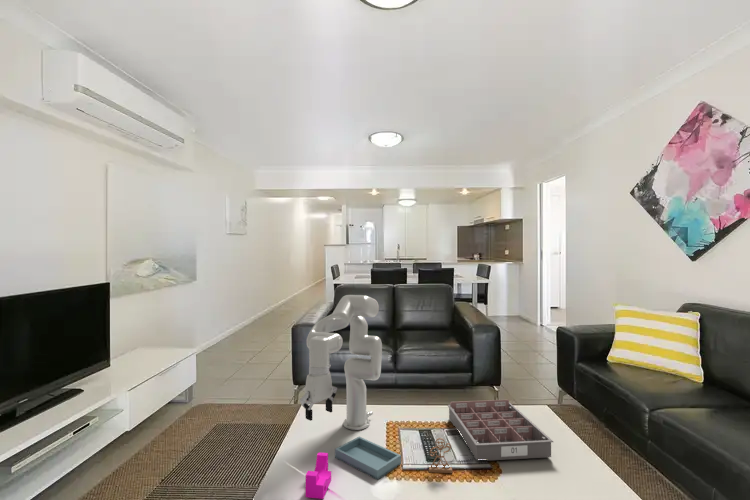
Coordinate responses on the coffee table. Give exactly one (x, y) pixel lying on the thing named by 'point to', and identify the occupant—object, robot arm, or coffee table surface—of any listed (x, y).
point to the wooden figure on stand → (437, 469)
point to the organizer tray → (498, 430)
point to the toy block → (318, 478)
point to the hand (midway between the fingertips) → (319, 415)
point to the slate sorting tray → (368, 457)
